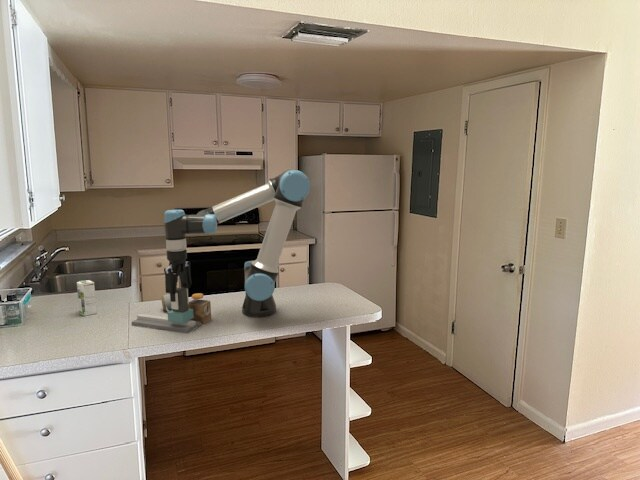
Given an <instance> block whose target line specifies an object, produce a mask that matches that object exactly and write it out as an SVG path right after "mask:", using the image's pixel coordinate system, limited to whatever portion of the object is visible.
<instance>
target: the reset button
mask: <svg viewBox="0 0 640 480" xmlns="http://www.w3.org/2000/svg"><path fill="white" fill-rule="evenodd" d="M191 298H192V300H194V299H199V300H202V299H203V298H204V293H201V292H200V293H199V292H198V293H193V294H192V295H191Z"/></svg>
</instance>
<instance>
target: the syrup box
mask: <svg viewBox="0 0 640 480" xmlns="http://www.w3.org/2000/svg"><path fill="white" fill-rule="evenodd" d="M76 289H77V303H78V304H77V305H78V312H79V314H80V315H81V316H83V317H86V316H92V315H94V314H95V315H96V314H97V313H98V311H97V300H96V289H95V282H94V281H93V280H91V279H88V280H87V279H86V280H79V281H76Z"/></svg>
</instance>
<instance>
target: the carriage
mask: <svg viewBox="0 0 640 480" xmlns="http://www.w3.org/2000/svg"><path fill="white" fill-rule="evenodd" d="M176 293H178V308H179V309H178V310H176V309H173V310H169V311H170V312H167V317H168V322H175V323H182V324H183V323H185V322H187V321H189V320H190V319H192V318H194V314H193V309H189V308H188V301H187V289H186V288H183V287H177V288H176Z"/></svg>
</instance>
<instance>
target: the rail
mask: <svg viewBox="0 0 640 480" xmlns="http://www.w3.org/2000/svg"><path fill="white" fill-rule="evenodd" d="M136 318H137V319H134V320H132V321H131V326H133V325H134V327H140V326H141V327H142V328H147V327H149V328H148V329H154V328H156V330H161V329H163V330H162V331H168V332H169V331H170V332H177V333H184V334H189V333H191V332H193V331H194V330H195V329H197V328H200V326H202V324H201V322H199V321H192V320H189V321H187V322H185V323H183V324H182V323H175V322H168V316H160V315H152V314H146V313H140V314H137V315H136ZM141 327H140V328H141Z"/></svg>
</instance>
